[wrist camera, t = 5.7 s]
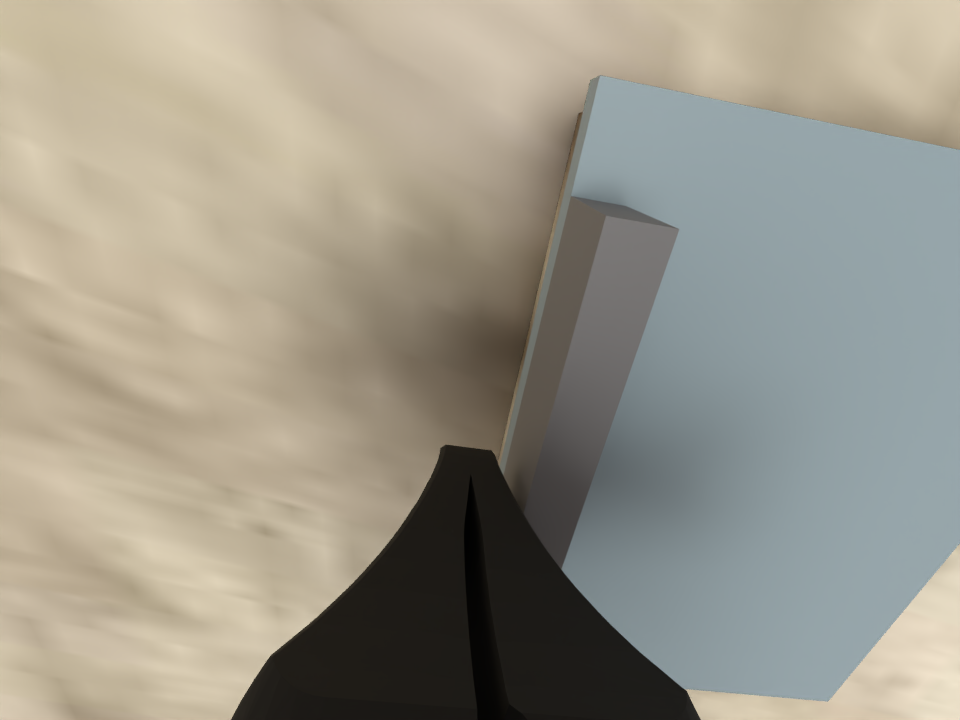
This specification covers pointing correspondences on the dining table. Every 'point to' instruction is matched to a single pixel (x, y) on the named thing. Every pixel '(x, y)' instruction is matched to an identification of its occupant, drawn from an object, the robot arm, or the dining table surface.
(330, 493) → the dining table surface
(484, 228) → the dining table surface
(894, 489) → the lid
